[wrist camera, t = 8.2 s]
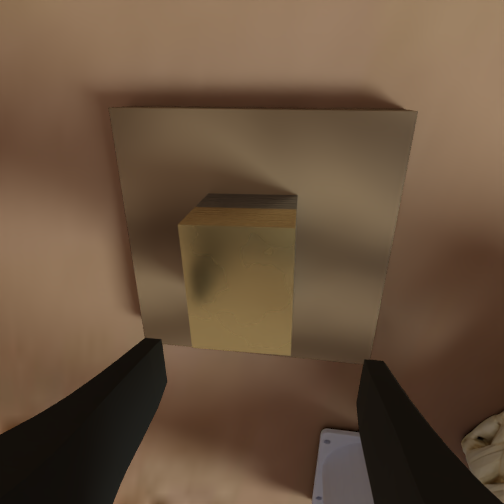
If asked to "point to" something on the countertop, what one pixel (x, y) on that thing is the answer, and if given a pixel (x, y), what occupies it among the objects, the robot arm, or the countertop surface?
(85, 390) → the robot arm
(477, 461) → the storage basket
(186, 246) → the block
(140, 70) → the countertop surface
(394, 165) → the walnut stand
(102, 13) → the countertop surface
